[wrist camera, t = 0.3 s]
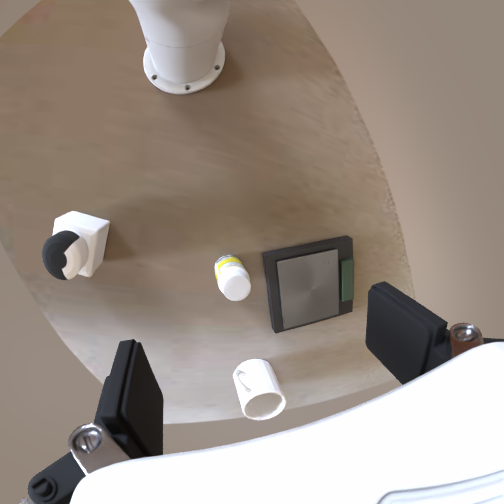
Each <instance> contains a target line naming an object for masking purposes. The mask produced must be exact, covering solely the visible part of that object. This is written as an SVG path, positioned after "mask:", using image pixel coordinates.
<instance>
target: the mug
mask: <svg viewBox="0 0 504 504" xmlns="http://www.w3.org/2000/svg"><path fill="white" fill-rule="evenodd" d="M233 377H234V381H235V385H236V389H237V392H238V396H239V400H240V404H241V407H242V411H243V413H244V415H245V416H246V417H248V418H250V419H253V420H265V419H269V418H272V417H274V416H276V415H277V414H279V413H280V412H281V411H282V410H283V409H284V407H285V406H286V397H285V395H284V393H283V391H282V389H281V386H280V384H279V382H278V380H277V377H276V375H275V373H274V371H273V368H272V366H271V365H270V364H269V363H268V362H267V361H265V360H262V359H251V360H248V361H245V362H243V363H242V364H240V365H239V366H238V367H237V369H236V370H235V372H234V374H233Z"/></svg>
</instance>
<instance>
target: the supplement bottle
mask: <svg viewBox="0 0 504 504" xmlns="http://www.w3.org/2000/svg"><path fill="white" fill-rule="evenodd" d="M214 271H215V275H216V279H217V282H218V286H219V288H220V290H221V291H222V293H224V295H225V296H226V297H227V298H228V299H230V300H232V301H240V300H243V299H244V298H246V297H247V296H248V295H249V293H250V290H251V284H250V277H249V274H248V272H247V271H246V269H245V267H244V266H243V264H242V262H241V261H240V260H239V259H238V258H237V257H235V256H232V255H226V256H223V257H221V258H220V259H219V260H218V261H217V262H216V264H215V269H214Z"/></svg>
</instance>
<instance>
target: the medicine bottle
mask: <svg viewBox="0 0 504 504" xmlns="http://www.w3.org/2000/svg"><path fill="white" fill-rule="evenodd" d="M109 226H110V221H108V220H104V219H100V218H97V217H93V216H90V215H86V214H83V213H79V212H76V211H71V212H69V213H67V214H65V215H63V216H61V217H58V218H56V219H55V224H54V231H53V236H51V237H50V238H49V239H48V240H47V241H46V242H45V244H44V246H43V250H42V258H43V262H44V265H45V267H46V269H47V270H48V272H49V273H50V274H51V275H52V276H54V277H55V278H57V279H61V280H68V279H71V278H73V277H74V276H75V275H76V274H80V275H83V276H87V277H91V276H92V274H93V273H94V272H95V271H96V269H97V268H98V267H99V266H100V264H101V263H102V262H103V257H104V251H105V246H106V240H107V235H108V231H109Z"/></svg>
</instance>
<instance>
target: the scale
mask: <svg viewBox="0 0 504 504" xmlns="http://www.w3.org/2000/svg"><path fill="white" fill-rule="evenodd" d="M332 248H337V249H338V276H339V314H337V315H334V316H330V317H327V318H323V319H320V320H316V321H313V322H309V323H306V324H302V325H298V326H294V327H291V328H287V329H283V326H282V316H281V306H280V297H279V288H278V278H277V269H276V260H280V259H285V258H290V257H295V256H299V255H304V254H309V253H314V252H318V251H323V250H328V249H332ZM263 260H264V267H265V275H266V283H267V291H268V299H269V307H270V315H271V323H272V329H273V330H274V332H275V333H279V332H282V331H286V330H290V329H294V328H298V327H301V326H305V325H309V324H312V323H316V322H319V321H323V320H326V319H330V318H333V317H336V316H340V315H343V314H346V313H349V312H352V305H353V294H354V259H353V244H352V238H350V237H348V236H343V237H338V238H334V239H329V240H324V241H319V242H314V243H309V244H304V245H299V246H294V247H289V248H284V249H279V250H274V251H269V252H264V253H263Z"/></svg>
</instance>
